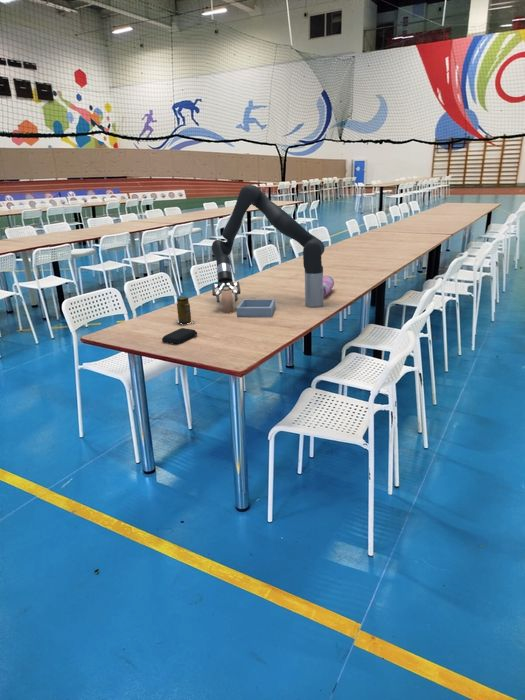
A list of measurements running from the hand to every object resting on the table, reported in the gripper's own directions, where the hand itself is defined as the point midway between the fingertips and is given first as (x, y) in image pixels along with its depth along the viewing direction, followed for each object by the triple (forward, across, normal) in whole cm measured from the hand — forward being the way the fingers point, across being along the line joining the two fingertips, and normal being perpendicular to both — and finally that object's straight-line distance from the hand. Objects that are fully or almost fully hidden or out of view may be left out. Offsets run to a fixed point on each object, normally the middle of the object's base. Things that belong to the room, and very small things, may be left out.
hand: (227, 301), depth 240 cm
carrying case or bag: (+29, -23, -20) cm, 42 cm away
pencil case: (-10, +54, +19) cm, 58 cm away
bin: (+7, +14, +1) cm, 16 cm away
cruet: (+3, 0, +5) cm, 6 cm away
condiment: (+12, -21, -4) cm, 25 cm away
